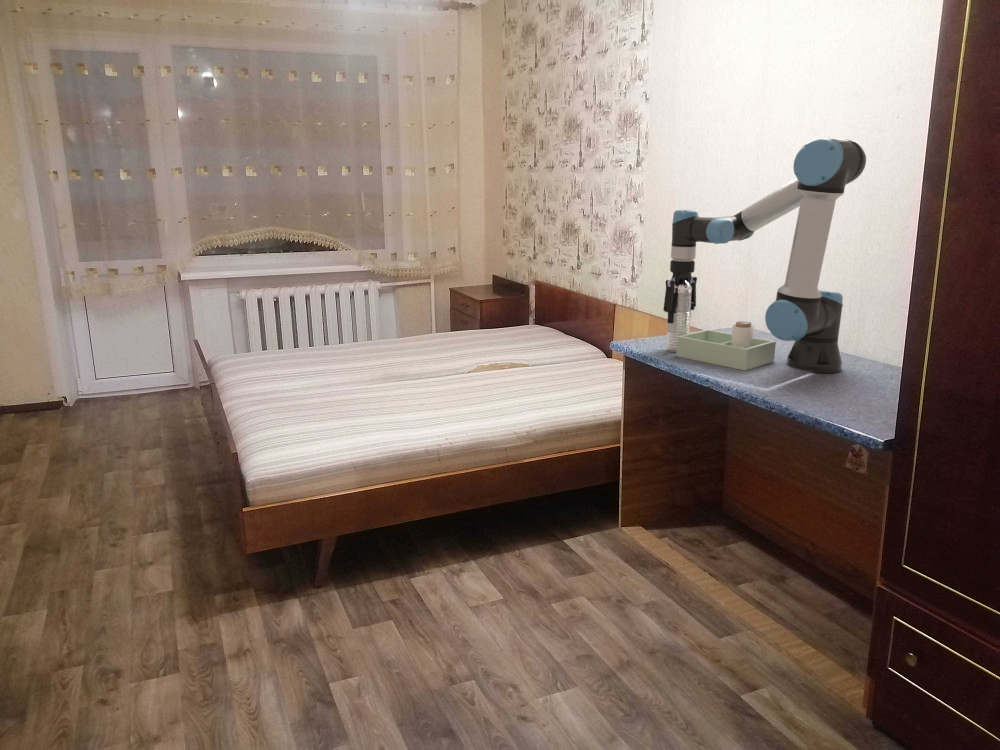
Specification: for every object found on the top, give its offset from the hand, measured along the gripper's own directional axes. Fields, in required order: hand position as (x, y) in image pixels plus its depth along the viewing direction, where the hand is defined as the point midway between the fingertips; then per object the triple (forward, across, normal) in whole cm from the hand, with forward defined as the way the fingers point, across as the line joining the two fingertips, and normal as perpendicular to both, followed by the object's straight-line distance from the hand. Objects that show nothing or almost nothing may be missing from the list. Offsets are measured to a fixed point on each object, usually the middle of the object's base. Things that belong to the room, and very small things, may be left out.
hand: (678, 331), depth 243 cm
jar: (+6, +1, +24) cm, 24 cm away
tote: (+7, +1, +18) cm, 19 cm away
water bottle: (+7, 0, 0) cm, 7 cm away
